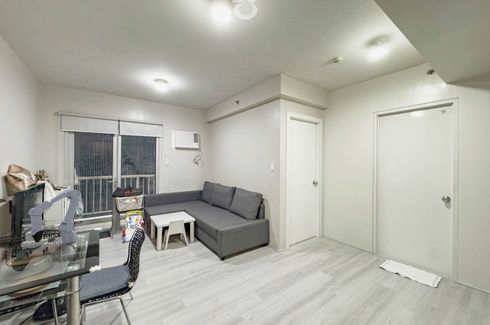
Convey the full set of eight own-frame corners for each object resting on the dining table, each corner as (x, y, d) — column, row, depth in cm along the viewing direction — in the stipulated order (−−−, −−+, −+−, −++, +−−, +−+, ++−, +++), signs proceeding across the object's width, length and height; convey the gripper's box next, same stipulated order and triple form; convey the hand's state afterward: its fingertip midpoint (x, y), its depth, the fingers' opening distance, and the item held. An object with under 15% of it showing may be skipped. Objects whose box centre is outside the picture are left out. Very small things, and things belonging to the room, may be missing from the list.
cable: (55, 240, 157) (54, 236, 157) (53, 241, 154) (53, 238, 154) (23, 245, 150) (23, 241, 150) (21, 247, 147) (21, 243, 147)
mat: (63, 244, 165) (62, 244, 164) (59, 247, 159) (59, 247, 159) (26, 251, 155) (26, 251, 155) (21, 255, 150) (21, 254, 150)
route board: (58, 248, 158) (58, 244, 158) (53, 253, 150) (52, 248, 150) (22, 255, 149) (21, 250, 149) (14, 261, 141) (13, 256, 141)
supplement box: (44, 244, 168) (42, 229, 167) (34, 248, 160) (32, 232, 160) (36, 244, 169) (35, 229, 168) (26, 248, 161) (24, 232, 161)
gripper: (34, 221, 156) (36, 239, 157) (23, 227, 143) (25, 246, 144) (46, 220, 159) (48, 237, 160) (37, 225, 146) (38, 244, 147)
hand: (38, 241), depth 152 cm, fingers closed on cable, 2 cm apart
